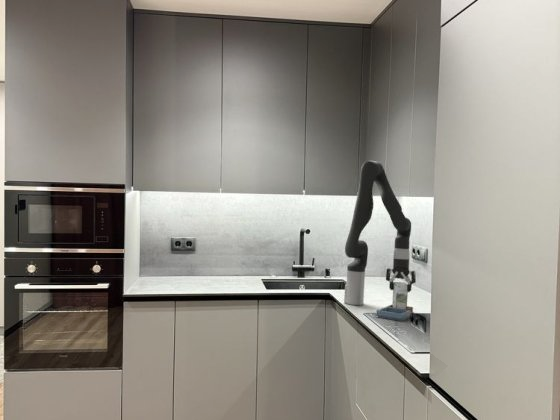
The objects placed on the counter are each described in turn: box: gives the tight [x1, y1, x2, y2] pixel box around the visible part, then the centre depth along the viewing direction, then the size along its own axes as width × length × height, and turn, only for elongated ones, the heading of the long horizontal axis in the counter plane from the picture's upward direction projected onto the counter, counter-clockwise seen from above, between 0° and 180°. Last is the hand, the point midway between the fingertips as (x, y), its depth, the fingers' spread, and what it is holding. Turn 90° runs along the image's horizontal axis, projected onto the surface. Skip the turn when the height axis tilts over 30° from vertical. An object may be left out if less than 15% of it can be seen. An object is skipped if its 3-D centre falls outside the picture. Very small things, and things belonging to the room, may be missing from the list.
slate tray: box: [375, 306, 412, 322], centre depth 214 cm, size 12×12×3 cm
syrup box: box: [391, 281, 409, 309], centre depth 226 cm, size 6×6×14 cm
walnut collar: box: [386, 304, 414, 314], centre depth 226 cm, size 10×10×2 cm
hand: (400, 290), depth 226 cm, fingers open, 8 cm apart
